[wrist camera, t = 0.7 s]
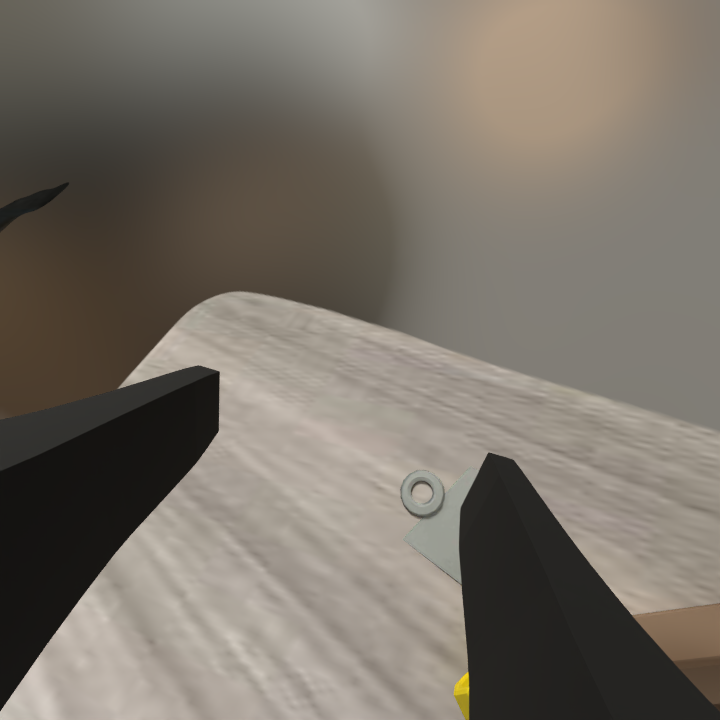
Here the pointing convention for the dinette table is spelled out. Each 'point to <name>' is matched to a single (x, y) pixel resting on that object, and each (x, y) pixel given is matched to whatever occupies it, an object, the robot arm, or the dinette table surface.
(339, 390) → the dinette table surface
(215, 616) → the dinette table surface
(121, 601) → the dinette table surface
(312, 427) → the dinette table surface
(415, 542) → the mounting bracket
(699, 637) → the rack
